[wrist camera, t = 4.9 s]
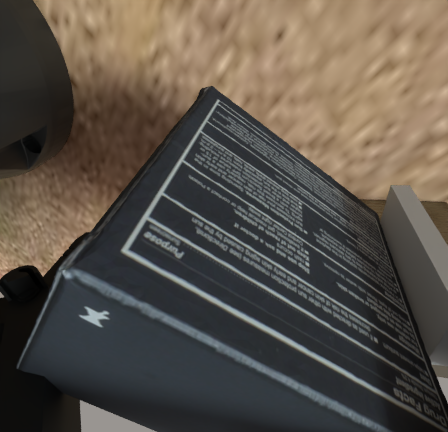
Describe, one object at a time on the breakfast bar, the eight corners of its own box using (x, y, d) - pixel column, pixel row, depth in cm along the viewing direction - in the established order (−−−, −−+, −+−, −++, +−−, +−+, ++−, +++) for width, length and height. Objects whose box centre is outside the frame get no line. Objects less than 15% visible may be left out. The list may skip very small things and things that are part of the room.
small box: (146, 181, 16) (-3, 380, 8) (208, 78, 12) (44, 251, 4) (293, 275, 18) (297, 502, 10) (383, 213, 15) (503, 494, 6)
